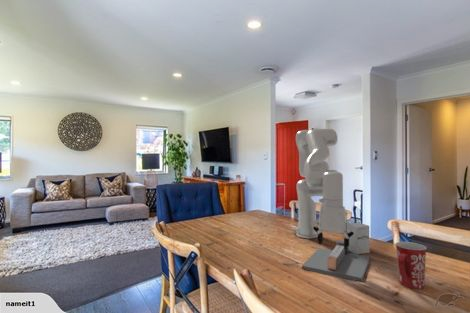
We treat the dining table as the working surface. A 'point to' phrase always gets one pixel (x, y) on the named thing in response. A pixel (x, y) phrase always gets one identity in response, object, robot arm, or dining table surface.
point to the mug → (411, 264)
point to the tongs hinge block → (343, 245)
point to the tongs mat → (348, 268)
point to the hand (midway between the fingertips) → (333, 245)
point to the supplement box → (359, 239)
